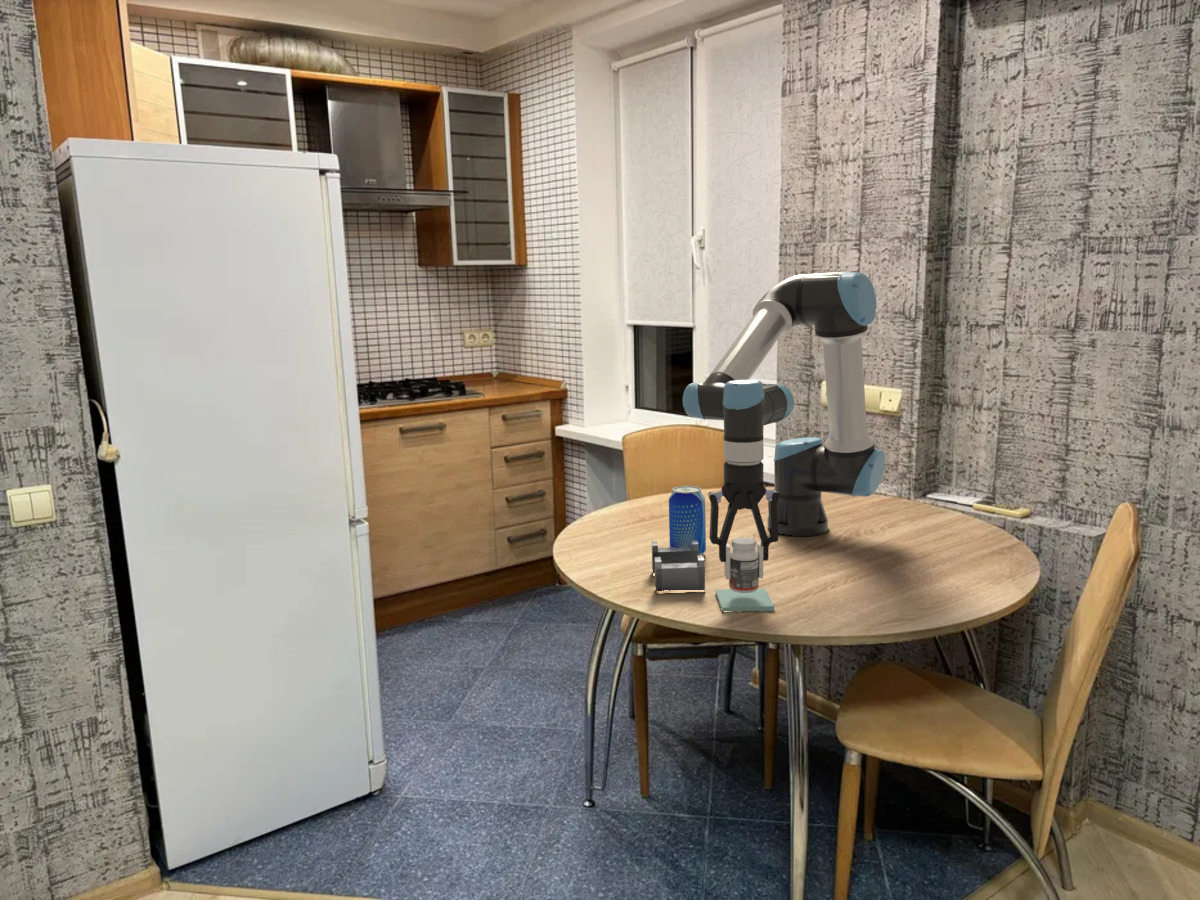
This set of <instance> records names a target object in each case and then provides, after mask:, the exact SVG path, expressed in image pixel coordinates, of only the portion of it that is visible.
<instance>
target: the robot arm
mask: <svg viewBox="0 0 1200 900" xmlns="http://www.w3.org/2000/svg"><path fill="white" fill-rule="evenodd" d="M876 309H877V295H876V291H875V288H874V285H873V282H872V281H871V279H870V278H869V277H868V276H867V275H866V274H864V273H862V272H854V271H852V272H849V271H835V272H823V273H822V272H821V273H819V272H818V273H801V274H796V275H793V276H790V277H788V278H786V279H784V280H782V281H780V282H779V283H777V284H776V285H775V286H773V287H772V288H770V290H768V291H767V292H766V293H764V294H763V296H762V297H761V298H760V299H759V300H758V302H757V303H756V305H754V307H753V310H752V317H751V318H750V320H749V321H748V322H747V324H746V325H745V326H744V328H743V329H742V331H741V332H740V333H739V335H738V337H736V339H735V340H734V342H733V343H732V344H731V346H730V347H729V348H728V349H727V351H726V352H725V354H724V355H723V356H722V357H721V359H720V360H719V361H718V363H717V364H716V365H715V367H714V368H713V370H712V371H711V373H710V374H709V376H707V378H706V379H705V381H703V382H701V381H697V382H692V383H689V384H688V385H687V386H686V387H685V389H684V391H683V395H682V406H683V408H684V412H685V414H686V415H687V416H688V417H690V418H693V419H694V418H695V419H701V420H704V421H705V420H706V421H707V420H710V421H711V420H713V421H723V460H724V461H725V462H724V463H723V485H722V487H721V489H720V490H717V491H714V492H713V491H710V492H708V494H707V495H708V498H709V503H710V515H709V516H710V518H709V541H710V543H711V544H712V545H717V546H718V558H719V560H720V562H721V563H724V576H725V579H726V580H729V579H730V552H731V546H730V544H729V543H728V541H729V538H730V533H731V531H732V528H733V525H734V521H735V518H736V515H737V513H738V510H744V509H746V510H751V513H752V516H753V519H754V523H755V526H756V529H757V533H758V536H759V538H760V539H759V540H760V541H758V542H757V541H756V551H757V553H758V555H759V579H764V562H765V561H766V562H767V561H768V560H769V552H770V551H769V548H770V544H772V543H776V542H778V541H779V534H778V533H781V534H780V535H782V534H785V536H789V535H792V537H793V536H794V537H810V536H811V537H812V536H818V535H823V534H824V533H826V532H827V531H829V520H828V517H827V516H828V515H827V514H826V510H825V507H824V504H823V502H822V500H823V499H822V492H823V493H829V494H836V495H844V496H851V497H854V498H855V497H865V498H868V497H871V496H873V494H875V492H876V491H878V488H879V486H880V485H881V484H880V483H881V481H882V478H883V476H884V472H885V471H884V470H885V463H886V459H885V457H886V456H885V453H884V452H883V450H881V449H880V448H875V439H874V437H872V436H871V435H869V434H868V427H867V409H866V396H865V395H866V394H865V393H866V392H865V378H864V377H865V375H864V359H863V344H862V342H863V341H862V337H864V335H865V334H866V333H867V332H868V331H869V327H868V326H869V325H870V324H872V323H873V322H874V320H875V318H876V315H877V311H876ZM802 325H803V326H804V325H805V326H814V335H815V336H816V337H817V338H818V339H820V341H822V351H823V363H824V377H825V389H826V391H825V393H826V402H827V416H828V430H829V437H827V438H826V439H825V441H824V442H823V440H822V438H821V437H817V436H816V437H815V436H811V437H798V438H791V439H787V440H783V441H780V442H778V443H777V444H776V445H775V448H774V457H773V458H774V459H773V462H774V464H773V465H774V466H773V467H774V471H773V472H774V473H773V474H774V476H773V477H774V478H773V479H774V480H773V481H774V484H773V485H774V486H773V487H774V489H772V490H771V489H767V488H766V487H765V484H764V463H763V462H762V461H763V460H764V458H765V457H764V426H767V425H771V424H774V423H775V424H776V423H778V422H779V423H780V422H781V421H782V420H786V418H788V417H789V416H790V415H791V414H792V412H793V410H794V408H795V397H794V395H793V393H792V391H791V389H790V388H789V387H787V386H786V385H783V384H780V383H768V384H767V385H764V384H763V382H762V381H760V380H758V379H757V380H756V379H751V378H752V376H753V375H754V373H756V371H757V369H759V367H760V365H761V364H762V362H763V361H764V359H766V356H767V355H768V354H769V352H770V351H771V349H772V348H773V346H774V345H775V343H776V342H777V341H778V340H779V338H780V337H781V336H784V335H786V334H787V333H788V332H790V330H791V329H792V327H796V326H802ZM764 496H765V499H766V500H767V505H768V506H767V507H768V509H767V510H768V517H767V523H766V525H767V526H768V527H767V529H768V528H769V529H768V530H769V531H768V532H769V534H767V532H766V528H765V523H764V522H763V518H762V515H761V511H760V507H759V505H758V504H759V503H760V502H761V500H762V499H763V497H764ZM722 497H724V498H725V500H726V501H727V502H728V506H727V511H726V514H725V518H724V521H723V524H722V527H721V531H720V534H719V536H718V531H719V529H718V528H719V506H720V505H719V504H720V503H721V502H722Z"/></svg>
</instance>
